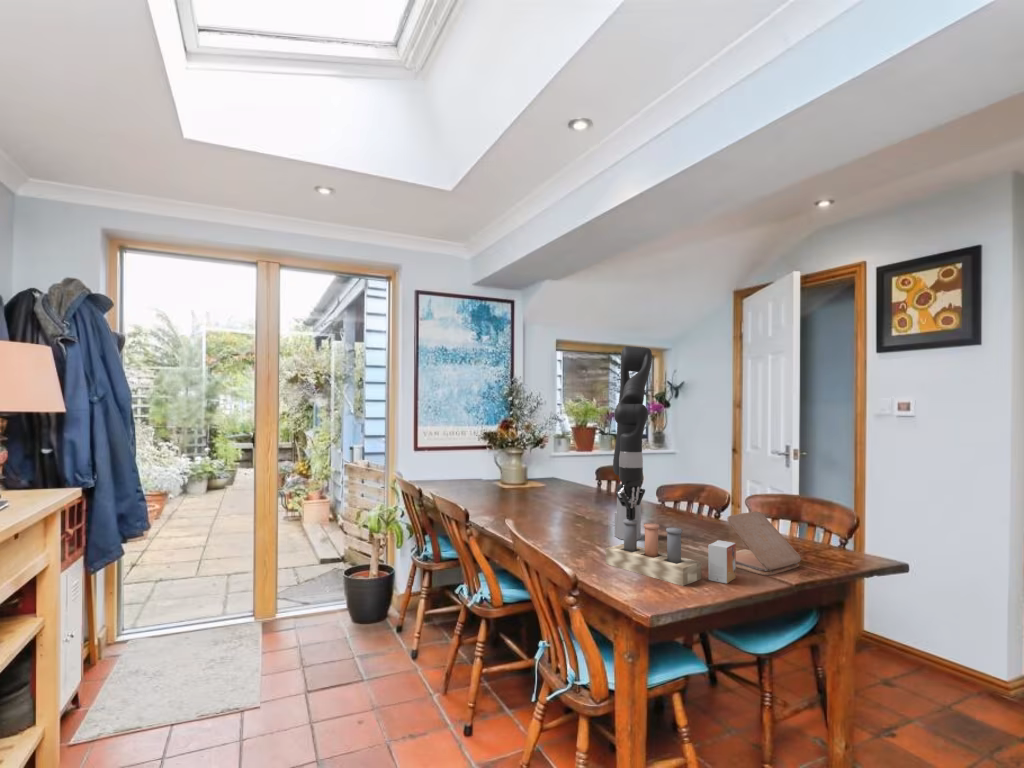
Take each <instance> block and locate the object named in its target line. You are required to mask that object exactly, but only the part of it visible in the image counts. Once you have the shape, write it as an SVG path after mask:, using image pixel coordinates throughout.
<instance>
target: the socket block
mask: <svg viewBox="0 0 1024 768" xmlns="http://www.w3.org/2000/svg"><path fill="white" fill-rule="evenodd" d="M605 564H606V565H608V566H611V567H615V568H618V569H622V570H625V571H629V572H632V573H636V574H640V575H643V576H646V577H649V578H654V579H658V580H661V581H665V582H666V583H671V584H674V585H678V586H682V587H684V586H686V585H689V584H692V583H694V582H697V581H700V580H702V562H701V561H699V560H695V559H694V560H693V559H690V558H686V557H683V556H681V563H678V564H675V563H671V562H667V552H662V551H658V557H655V558H652V557H648V556H645V547H640V546H637V551H636V552H628V551H624V543H621V544H617V545H613V546H609V547H605Z"/></svg>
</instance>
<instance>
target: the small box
mask: <svg viewBox="0 0 1024 768" xmlns="http://www.w3.org/2000/svg"><path fill="white" fill-rule="evenodd" d="M707 549H708V553H707V556H708V557H707V560H708V563H707V565H708V568H707V569H708V571H707V573H708V581H712V582H717V583H721V584H722V583H723V584H726V585H727V584H728V583H730V582H732V581H733V580H735V579H736V578H737V577H736V576H737V568H736V551H737V543H736V542H731V541H725V540H720V539H717V540H716V541H715V542H712V543H710V544H708V547H707Z"/></svg>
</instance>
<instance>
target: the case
mask: <svg viewBox="0 0 1024 768" xmlns="http://www.w3.org/2000/svg"><path fill="white" fill-rule="evenodd" d="M726 519H727V523H728V524H729V525H730V527H731V528H732V529H733V530H734V532H735V533H736V535H738V536H739V538H740V539H741V541H742V542H743V543H744V544H745V546H746V547H747V548H748V549H744V548H743V549H739V550H736V569H737V570H738V569H739V570H742V571H746V572H748V573H752V574H757V575H760V576H764V577H765V576H768V577H769V576H773V575H775V574H780V573H783V572H787V571H790V570H794V569H796V568H799V563H800V562H801V560H802V558H801V556H800V554H799V553H798V552H797V551H796V549H794V547H793V546H792V545H791V544H790V543H789V542H788V541H787V540H786V538H785V537H784V535H782V533H780V531H779V530H778V529H777V528H776V527H775V526H774V524H773V523H771V522H770V520H769V519H768V518H767V517H766V516H765V515H764V514H763V513H761V512H759V511H750V512H742V513H738V514H731V515H728V516H727V518H726Z"/></svg>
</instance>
